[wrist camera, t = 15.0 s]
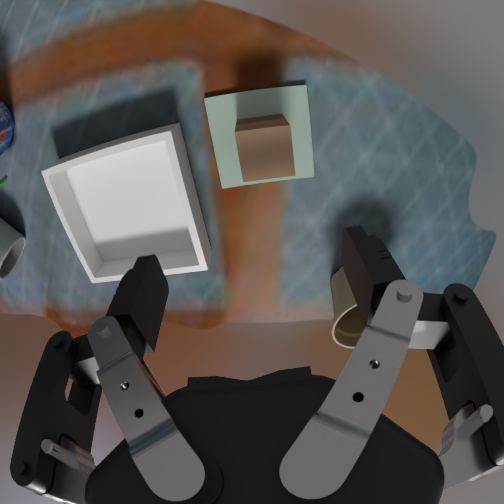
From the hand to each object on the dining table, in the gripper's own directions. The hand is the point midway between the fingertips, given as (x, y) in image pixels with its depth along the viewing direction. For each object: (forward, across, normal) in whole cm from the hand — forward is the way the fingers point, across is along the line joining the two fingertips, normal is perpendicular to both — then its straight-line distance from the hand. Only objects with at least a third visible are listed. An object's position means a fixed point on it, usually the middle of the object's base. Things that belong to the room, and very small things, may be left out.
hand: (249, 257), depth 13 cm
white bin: (+20, +14, +5) cm, 25 cm away
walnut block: (+20, -2, 0) cm, 20 cm away
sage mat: (+20, -2, 0) cm, 20 cm away
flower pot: (+20, -11, +21) cm, 31 cm away
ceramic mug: (+21, +39, +5) cm, 45 cm away
